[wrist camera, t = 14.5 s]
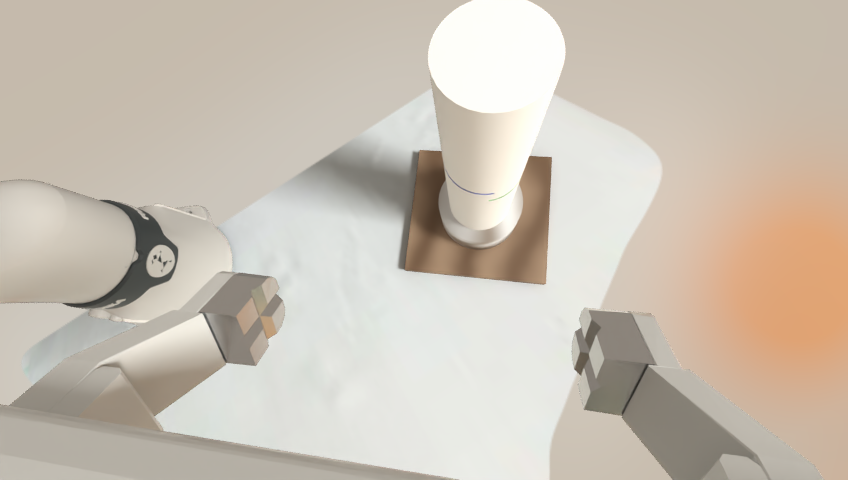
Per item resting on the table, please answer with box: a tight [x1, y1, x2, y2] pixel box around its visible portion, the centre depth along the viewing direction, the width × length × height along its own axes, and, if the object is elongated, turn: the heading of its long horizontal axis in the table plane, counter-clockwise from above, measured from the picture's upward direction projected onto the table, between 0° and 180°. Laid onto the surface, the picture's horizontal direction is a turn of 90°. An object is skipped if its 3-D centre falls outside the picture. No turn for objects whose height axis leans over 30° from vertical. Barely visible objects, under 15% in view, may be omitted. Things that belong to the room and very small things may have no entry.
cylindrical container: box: [428, 0, 565, 230], centre depth 31 cm, size 7×7×25 cm
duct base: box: [405, 150, 552, 285], centre depth 47 cm, size 18×17×6 cm
